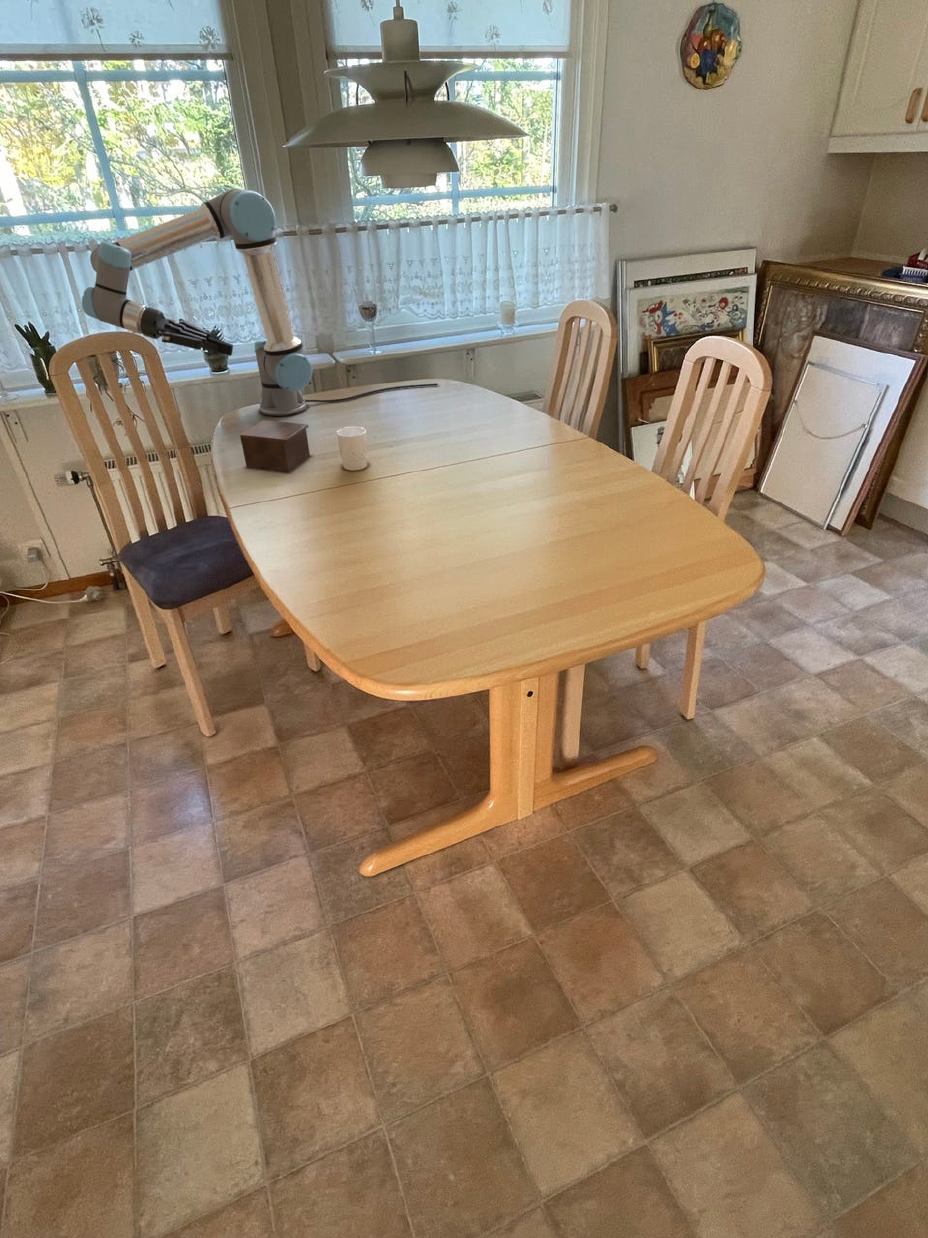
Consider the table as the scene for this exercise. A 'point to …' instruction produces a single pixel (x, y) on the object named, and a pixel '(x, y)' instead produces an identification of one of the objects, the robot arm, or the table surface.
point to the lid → (274, 431)
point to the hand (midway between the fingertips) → (231, 350)
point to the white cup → (353, 447)
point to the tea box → (276, 453)
